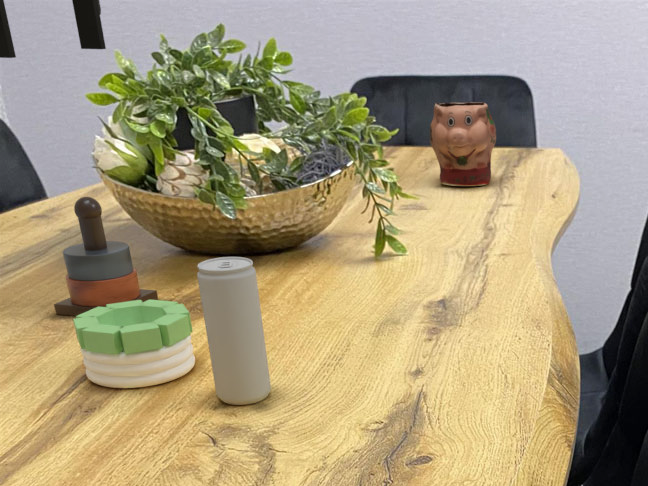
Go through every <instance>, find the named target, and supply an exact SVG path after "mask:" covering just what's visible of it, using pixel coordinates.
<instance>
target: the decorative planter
mask: <svg viewBox="0 0 648 486" xmlns="http://www.w3.org/2000/svg"><path fill="white" fill-rule="evenodd" d="M496 142H497V128H496V124H495V122H494V119H493V117H492V114H491V112H490V109H489V105H488V104H487V103H486V102H482V101H481V102H480V101H479V102H477V101H476V102H475V101H473V102H470V101H468V102H443V103H439V102H435V104H434V107H433V118H432V120H431V122H430V126H429V143H430V146H431V148H432V150H433V152H434V153H435V156H436V159H437V162H438V166H439V171H440V172H439V183H440V184H442V185H445V186H453V187H478V186H486V185H488V184H490V182H491V179H492V169H491V168H492V152H493V149H494V148H495V145H496Z"/></svg>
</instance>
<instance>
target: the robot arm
mask: <svg viewBox="0 0 648 486" xmlns="http://www.w3.org/2000/svg"><path fill="white" fill-rule="evenodd" d="M71 2H72V7H73V13H74V18H75V22H76V28H77V33H78V38H79V45H80V49H81V50H106V49H107V48H106V42H105V36H104V31H103V25H102V20H101V14H102V7H101V4H100V3H101V1H100V0H71ZM1 58H2V59H13V58H14V59H15V58H17V56H16V51H15V47H14V42H13V37H12V33H11V28H10V24H9V19H8V14H7V9H6V5H5V0H0V59H1Z"/></svg>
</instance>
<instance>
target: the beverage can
mask: <svg viewBox="0 0 648 486" xmlns="http://www.w3.org/2000/svg"><path fill="white" fill-rule="evenodd" d="M253 265H254V262H253V260H252V259H250V258H247V257H242V256H222V257H215V258H209V259H206V260H202V261H200V262H198V264H197V270H198V271H197V273H196V277H197V283H198V288H199V295H200V301H201V308H202V313H203V319H204V326H205V333H206V339H207V345H208V351H209V357H210V364H211V369H212V370H211V371H212V376H213V382H214V388H215V393H216V394H215V395H216V397H218V399H220V400H221V401H222V402H223V403H225V404H227V405H232V406H233V405H234V406H245V405H252V404H255V403H259V402H262V401H263V400H265V399H266V398H267V397H268V396H269V394H270V392H271V390H272V385H271V377H270V369H269V362H268V354H267V348H266V340H265V332H264V326H263V325H264V324H263V315H262V308H261V300H260V294H259V285H258V279H257V278H258V277H257V271H256V268H255V267H254V266H253Z"/></svg>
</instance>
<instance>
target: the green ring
mask: <svg viewBox="0 0 648 486" xmlns="http://www.w3.org/2000/svg"><path fill="white" fill-rule="evenodd" d="M72 322H73V327H74V331H75V335H76V340H77V342H78V344H79V347H80V349H86V351H91V352H100V353H109V354H118V353H120V352H122V351H124V352H125V354H129V353H135V352H142V351H148V350H154V349H161V348H163V345H168V346H171V345H173V344H175V343H177V342H179V341H180V340H182V339H184V338H186V337H188V336H190V335H191V336H192V333H193V332H194V331H193V325H192V324H193V323H192V319H191V313H190V311H189V310H188V308H187V307H186V306H185V305H184V304H183V303H179V302H178V301H172V300H171V301H170V300H162V299H161V300H160V299H158V300H150V299H149V300H147V301H145V302H142V300H135V301H127V302H120V303H113V304H106V307H99V306H98V307H96V308H94V309H91V310H89V311H87V312H85V313H82V314H80V315H78V316H75V317H74V318H72Z"/></svg>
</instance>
